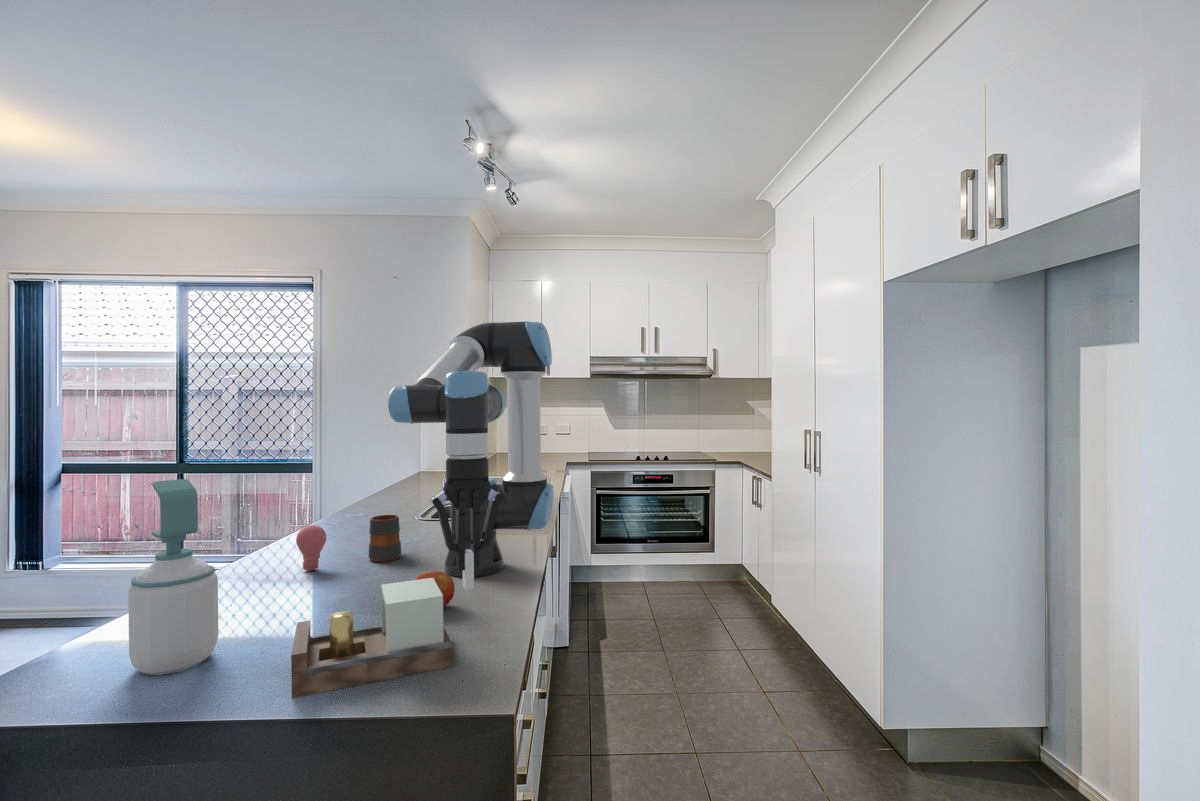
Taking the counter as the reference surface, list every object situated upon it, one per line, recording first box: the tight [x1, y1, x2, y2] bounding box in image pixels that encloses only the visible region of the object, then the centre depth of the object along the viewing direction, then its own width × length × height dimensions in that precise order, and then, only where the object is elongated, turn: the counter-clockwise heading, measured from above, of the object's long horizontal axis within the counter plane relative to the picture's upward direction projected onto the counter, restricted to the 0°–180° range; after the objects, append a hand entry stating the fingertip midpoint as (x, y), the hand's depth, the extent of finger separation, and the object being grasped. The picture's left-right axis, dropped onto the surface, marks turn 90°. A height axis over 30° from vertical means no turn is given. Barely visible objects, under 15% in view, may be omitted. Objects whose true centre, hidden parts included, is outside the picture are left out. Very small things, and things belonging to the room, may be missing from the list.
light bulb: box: [295, 524, 327, 572], centre depth 151 cm, size 7×7×12 cm
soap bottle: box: [127, 478, 219, 676], centre depth 98 cm, size 12×12×31 cm
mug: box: [368, 514, 402, 563], centre depth 164 cm, size 9×12×12 cm
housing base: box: [290, 620, 455, 699], centre depth 97 cm, size 24×14×6 cm, turn 115°
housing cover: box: [380, 578, 444, 653], centre depth 100 cm, size 9×11×8 cm
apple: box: [415, 570, 456, 608], centre depth 123 cm, size 8×8×8 cm
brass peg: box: [329, 610, 354, 659], centre depth 95 cm, size 4×4×8 cm
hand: (468, 587), depth 104 cm, fingers closed
